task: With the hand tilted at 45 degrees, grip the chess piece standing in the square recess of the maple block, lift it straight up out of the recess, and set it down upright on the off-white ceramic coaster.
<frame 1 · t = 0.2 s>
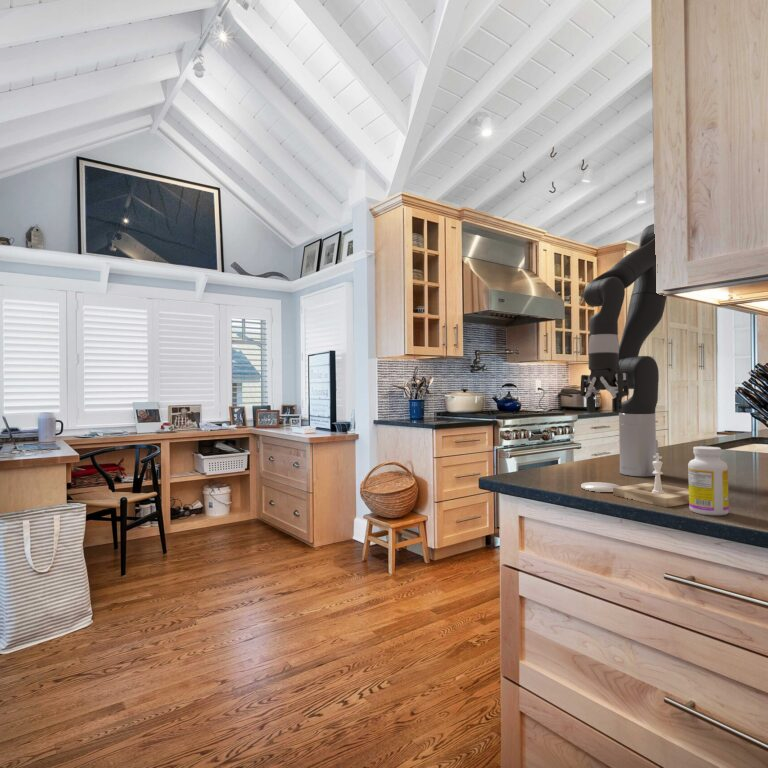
hand: (603, 412, 136), 18 cm above the worktop, tool pointing down, fingers open, 8 cm apart
supplement bottle: (708, 513, 100), on the worktop
coaster: (600, 488, 124), on the worktop
pocket block: (658, 497, 113), on the worktop
chess piece: (658, 498, 113), resting in pocket block
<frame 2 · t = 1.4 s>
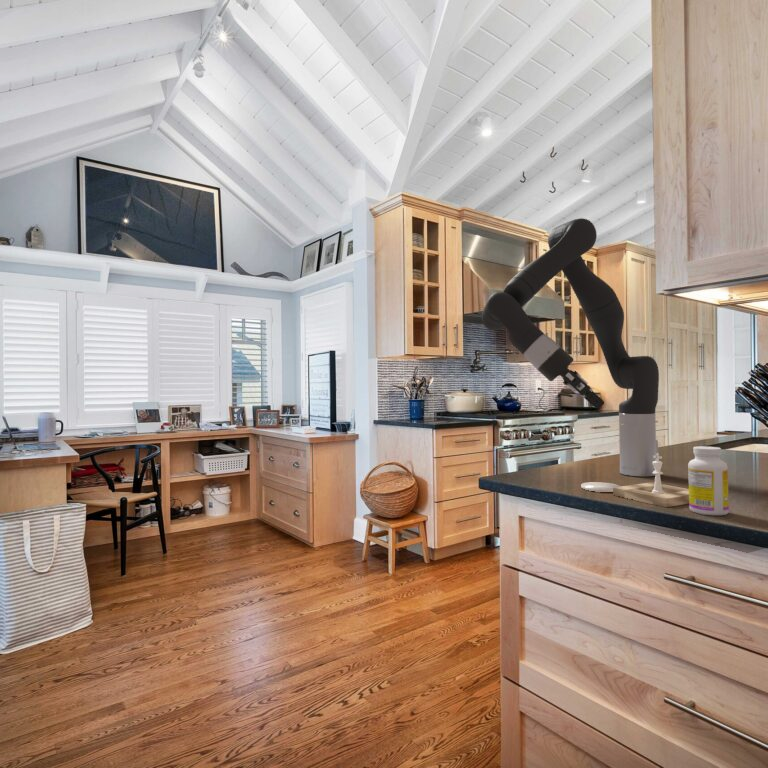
hand: (600, 405, 117), 21 cm above the worktop, tool tilted 45°, fingers open, 8 cm apart
nothing on the worktop moved.
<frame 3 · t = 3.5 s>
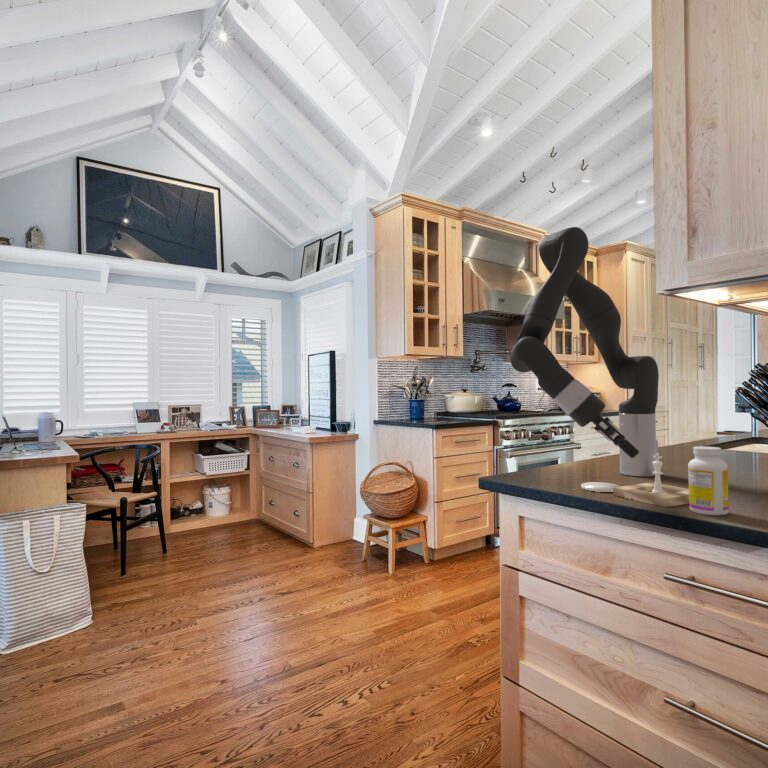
hand: (633, 452, 115), 10 cm above the worktop, tool tilted 45°, fingers open, 8 cm apart
nothing on the worktop moved.
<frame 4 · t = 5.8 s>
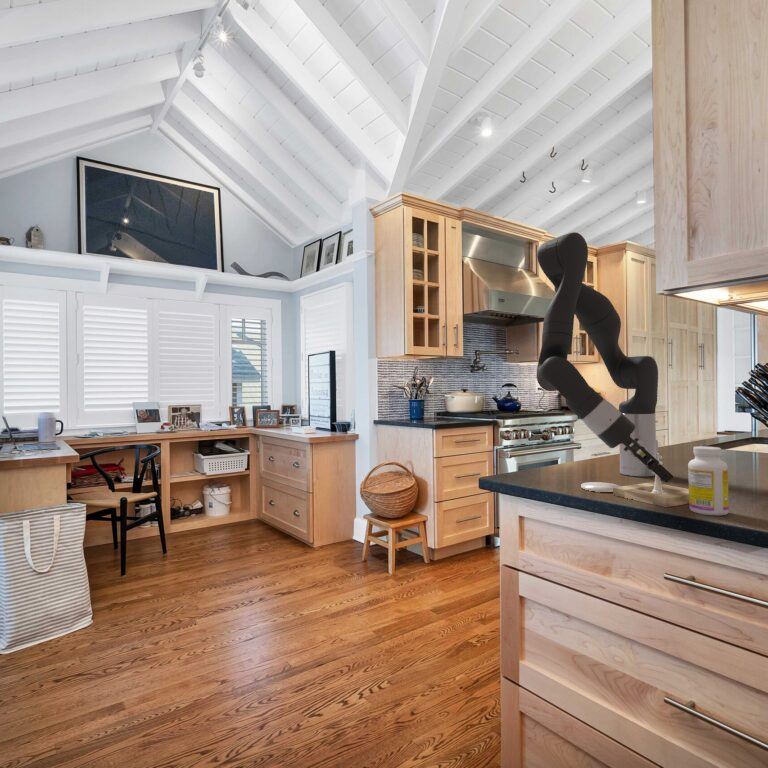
hand: (668, 478, 113), 4 cm above the worktop, tool tilted 45°, fingers closed on chess piece
chess piece: (658, 498, 113), resting in pocket block, touching gripper
everything else where it was.
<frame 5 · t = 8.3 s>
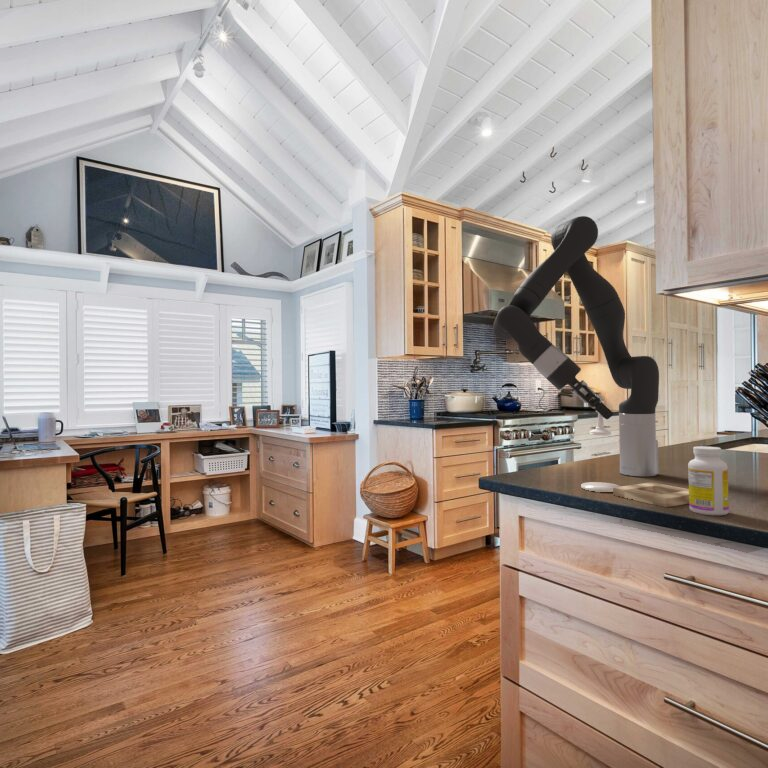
hand: (609, 416, 123), 18 cm above the worktop, tool tilted 45°, fingers closed on chess piece
chess piece: (600, 435, 124), point 13 cm above the worktop, touching gripper
everything else where it was.
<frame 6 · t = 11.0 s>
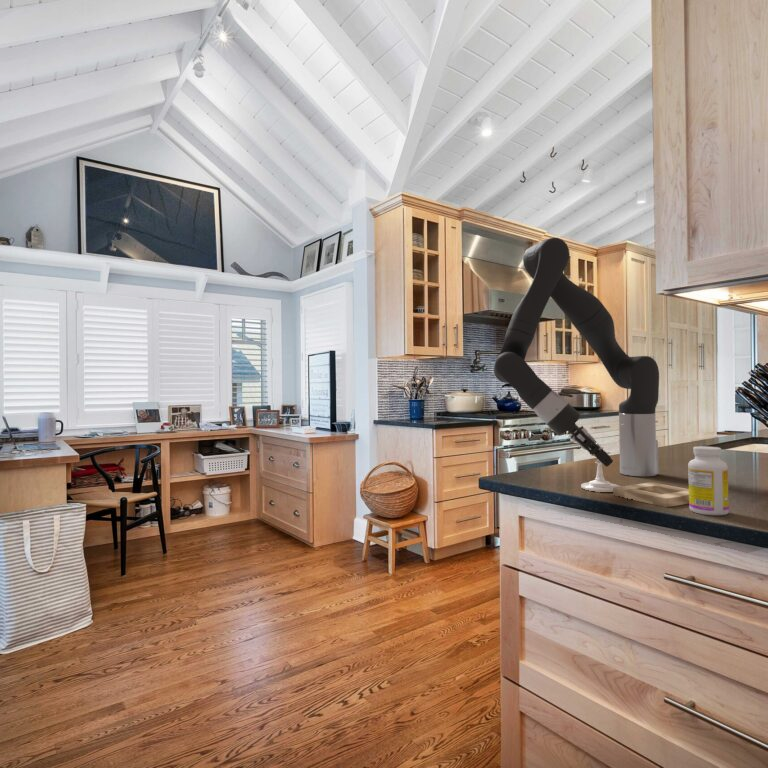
hand: (608, 462, 123), 7 cm above the worktop, tool tilted 45°, fingers open, 4 cm apart
chess piece: (599, 486, 124), point 1 cm above the worktop, touching coaster
everything else where it was.
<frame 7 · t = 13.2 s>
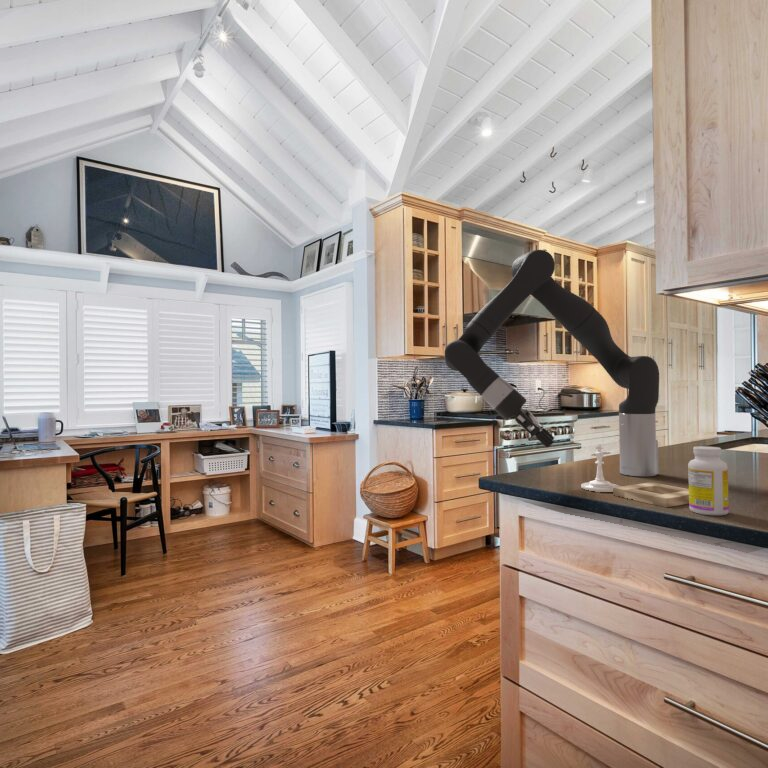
hand: (551, 442, 128), 11 cm above the worktop, tool tilted 45°, fingers open, 8 cm apart
nothing on the worktop moved.
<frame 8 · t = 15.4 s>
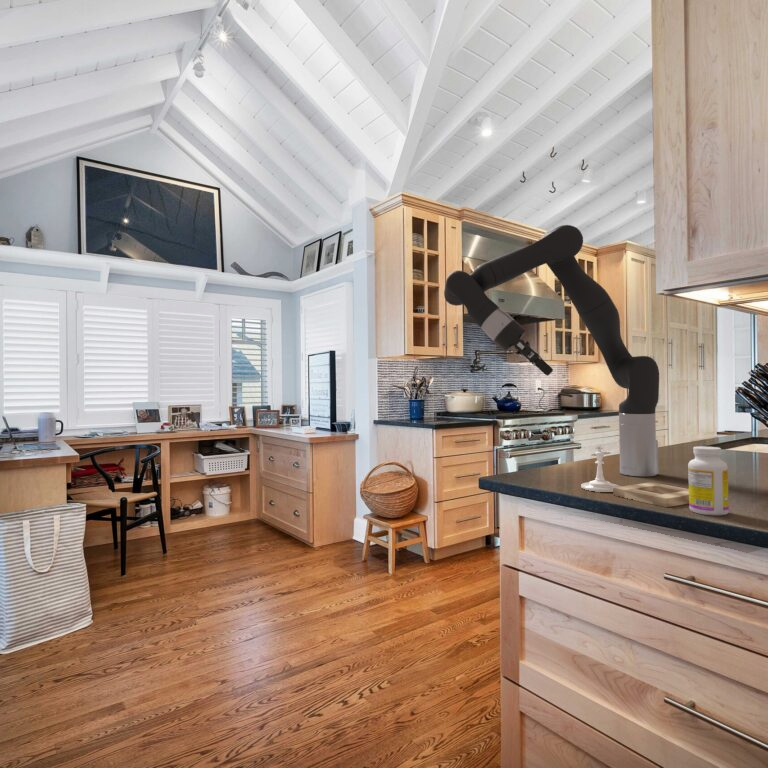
hand: (550, 372, 128), 29 cm above the worktop, tool tilted 45°, fingers open, 8 cm apart
nothing on the worktop moved.
at the end: chess piece 0.2 cm from the coaster (horizontally); chess piece tilted 0°; chess piece point 0.6 cm above the worktop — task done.
